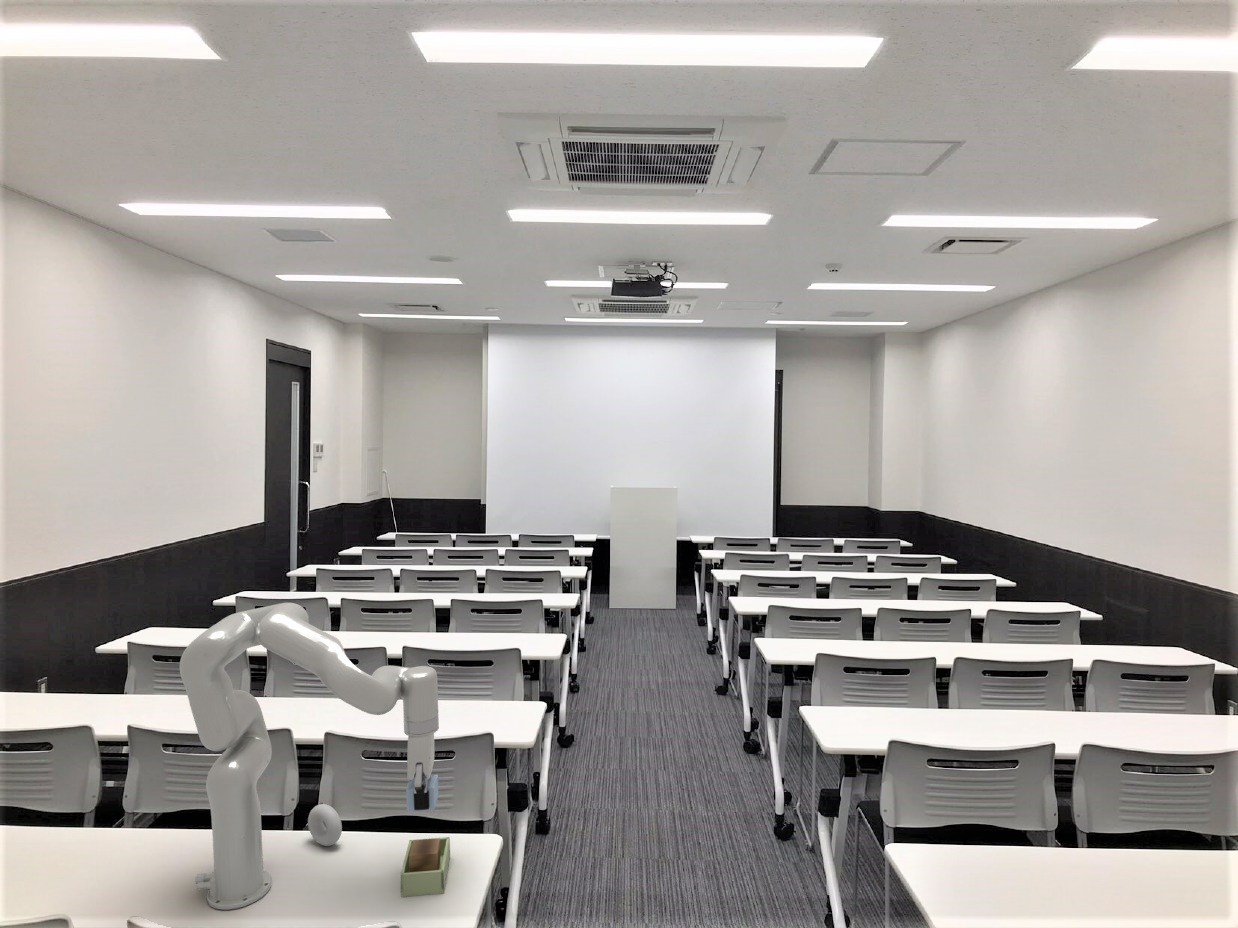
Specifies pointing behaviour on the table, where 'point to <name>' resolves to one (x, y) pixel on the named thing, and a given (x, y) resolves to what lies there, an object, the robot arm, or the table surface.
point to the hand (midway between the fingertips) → (423, 800)
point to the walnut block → (424, 855)
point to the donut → (318, 828)
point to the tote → (426, 874)
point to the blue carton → (431, 788)
